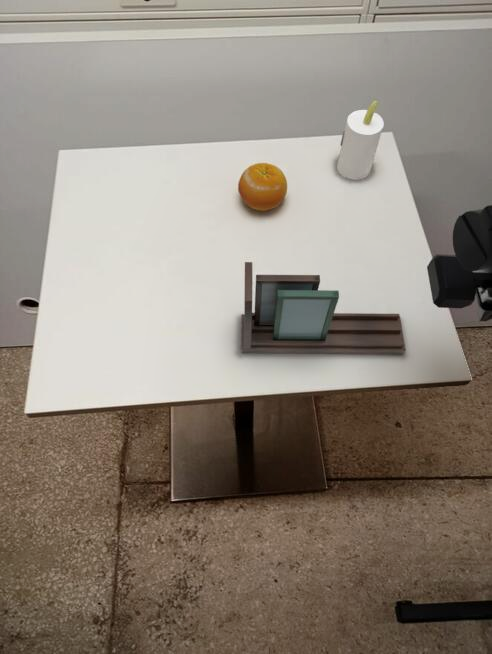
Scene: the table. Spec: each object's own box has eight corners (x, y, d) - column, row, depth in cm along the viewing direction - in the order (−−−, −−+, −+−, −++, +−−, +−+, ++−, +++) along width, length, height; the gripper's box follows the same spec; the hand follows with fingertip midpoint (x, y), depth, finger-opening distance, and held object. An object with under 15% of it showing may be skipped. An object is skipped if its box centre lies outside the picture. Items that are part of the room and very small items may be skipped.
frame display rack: (397, 320, 80) (429, 263, 66) (402, 354, 77) (437, 302, 64) (241, 318, 80) (241, 261, 66) (241, 352, 77) (240, 300, 64)
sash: (324, 335, 77) (338, 290, 65) (325, 341, 76) (339, 296, 65) (272, 335, 77) (277, 289, 65) (272, 340, 76) (277, 296, 65)
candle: (338, 153, 98) (354, 83, 84) (372, 159, 97) (392, 90, 84) (333, 176, 95) (348, 108, 81) (367, 182, 94) (388, 115, 81)
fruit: (299, 173, 90) (277, 151, 84) (288, 218, 89) (265, 199, 83) (260, 175, 95) (237, 154, 89) (250, 218, 94) (225, 200, 88)
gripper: (472, 308, 48) (418, 372, 61) (667, 315, 48) (569, 378, 62) (453, 217, 53) (407, 295, 67) (628, 224, 53) (546, 300, 67)
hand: (481, 318), depth 65 cm, fingers closed
